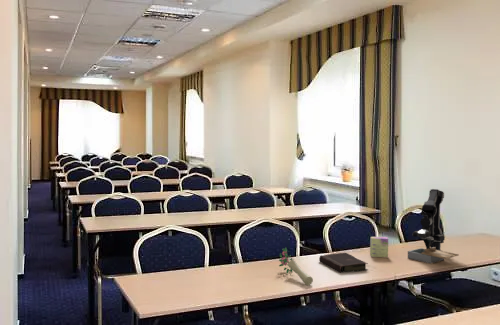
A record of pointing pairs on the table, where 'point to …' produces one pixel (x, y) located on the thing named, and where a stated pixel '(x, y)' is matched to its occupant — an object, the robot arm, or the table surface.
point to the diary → (343, 262)
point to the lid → (438, 253)
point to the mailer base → (422, 256)
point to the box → (379, 247)
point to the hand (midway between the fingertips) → (427, 249)
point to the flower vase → (295, 268)
